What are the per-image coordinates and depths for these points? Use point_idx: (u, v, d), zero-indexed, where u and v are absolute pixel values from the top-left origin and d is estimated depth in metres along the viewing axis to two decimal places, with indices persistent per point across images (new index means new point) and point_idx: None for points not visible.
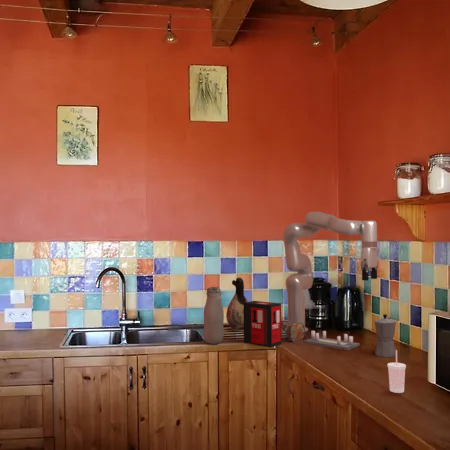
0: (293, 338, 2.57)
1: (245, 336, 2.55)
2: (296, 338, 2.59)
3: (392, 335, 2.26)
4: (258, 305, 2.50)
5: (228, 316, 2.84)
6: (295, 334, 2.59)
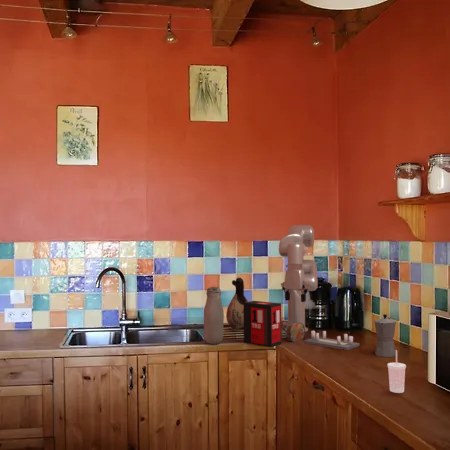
0: (293, 338, 2.57)
1: (245, 336, 2.55)
2: (296, 338, 2.59)
3: (392, 335, 2.26)
4: (258, 305, 2.50)
5: (228, 316, 2.84)
6: (295, 334, 2.59)
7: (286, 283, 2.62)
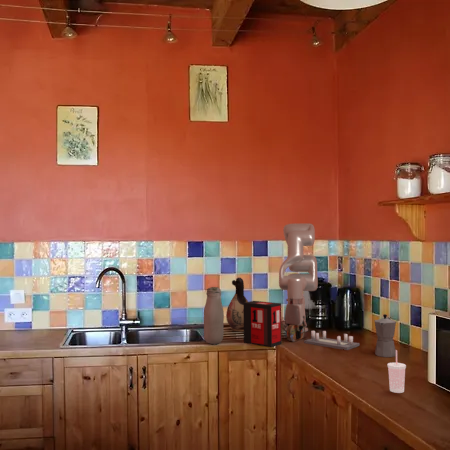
0: (293, 338, 2.57)
1: (245, 336, 2.55)
2: (296, 338, 2.59)
3: (392, 335, 2.26)
4: (258, 305, 2.50)
5: (228, 316, 2.84)
6: (295, 334, 2.59)
7: (286, 317, 2.61)
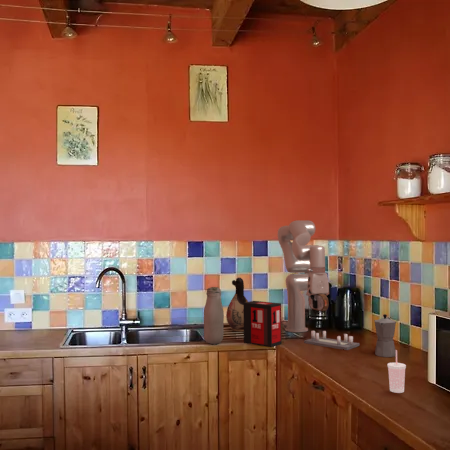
0: None
1: (245, 336, 2.55)
2: None
3: (392, 335, 2.26)
4: (258, 305, 2.50)
5: (228, 316, 2.84)
6: None
7: (314, 288, 2.51)
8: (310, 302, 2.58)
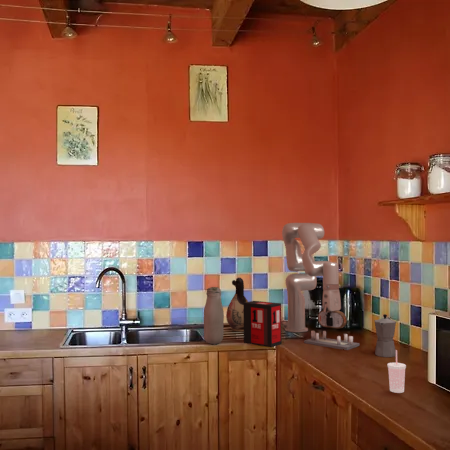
0: None
1: (245, 336, 2.55)
2: None
3: (392, 335, 2.26)
4: (258, 305, 2.50)
5: (228, 316, 2.84)
6: None
7: (332, 305, 2.46)
8: (321, 320, 2.53)
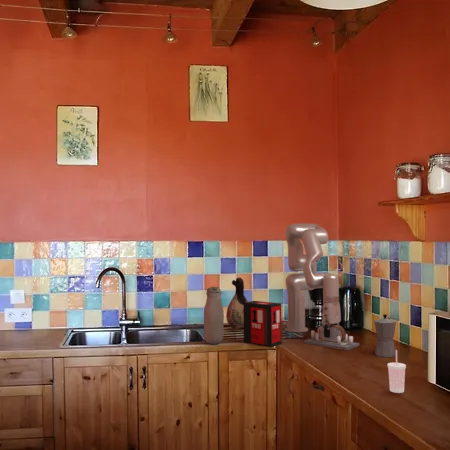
0: None
1: (245, 336, 2.55)
2: None
3: (392, 335, 2.26)
4: (258, 305, 2.50)
5: (228, 316, 2.84)
6: None
7: (332, 318, 2.46)
8: (320, 333, 2.53)
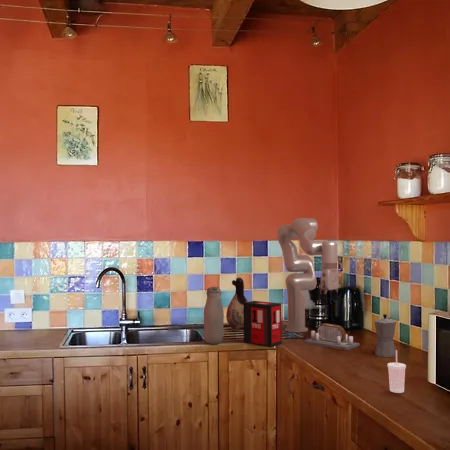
0: None
1: (245, 336, 2.55)
2: None
3: (392, 335, 2.26)
4: (258, 305, 2.50)
5: (228, 316, 2.84)
6: None
7: (330, 284, 2.49)
8: (320, 333, 2.53)
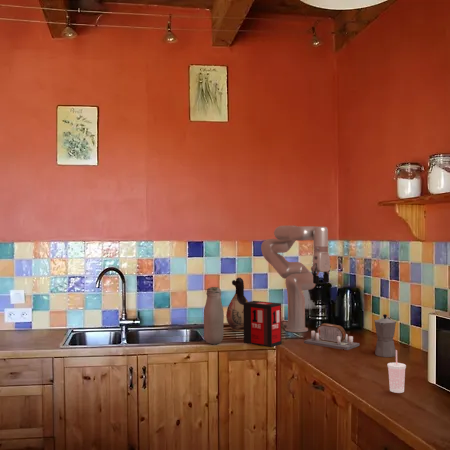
0: None
1: (245, 336, 2.55)
2: None
3: (392, 335, 2.26)
4: (258, 305, 2.50)
5: (228, 316, 2.84)
6: None
7: (321, 266, 2.64)
8: (320, 333, 2.53)
